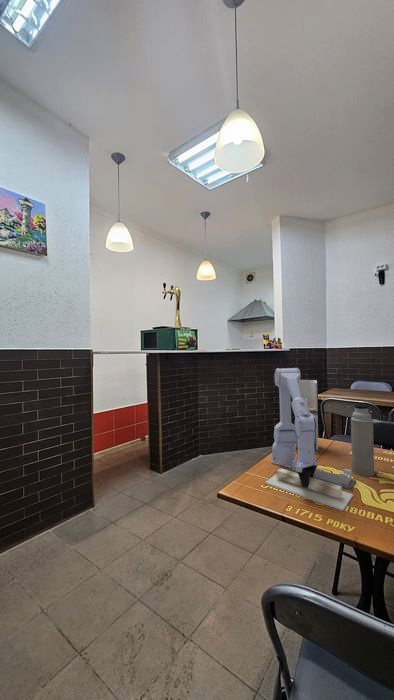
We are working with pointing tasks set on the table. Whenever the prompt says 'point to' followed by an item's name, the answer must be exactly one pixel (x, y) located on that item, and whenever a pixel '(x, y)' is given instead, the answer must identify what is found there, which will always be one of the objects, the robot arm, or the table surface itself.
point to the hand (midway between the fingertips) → (306, 484)
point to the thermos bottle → (362, 441)
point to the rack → (330, 476)
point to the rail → (310, 483)
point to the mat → (311, 493)
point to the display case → (310, 404)
